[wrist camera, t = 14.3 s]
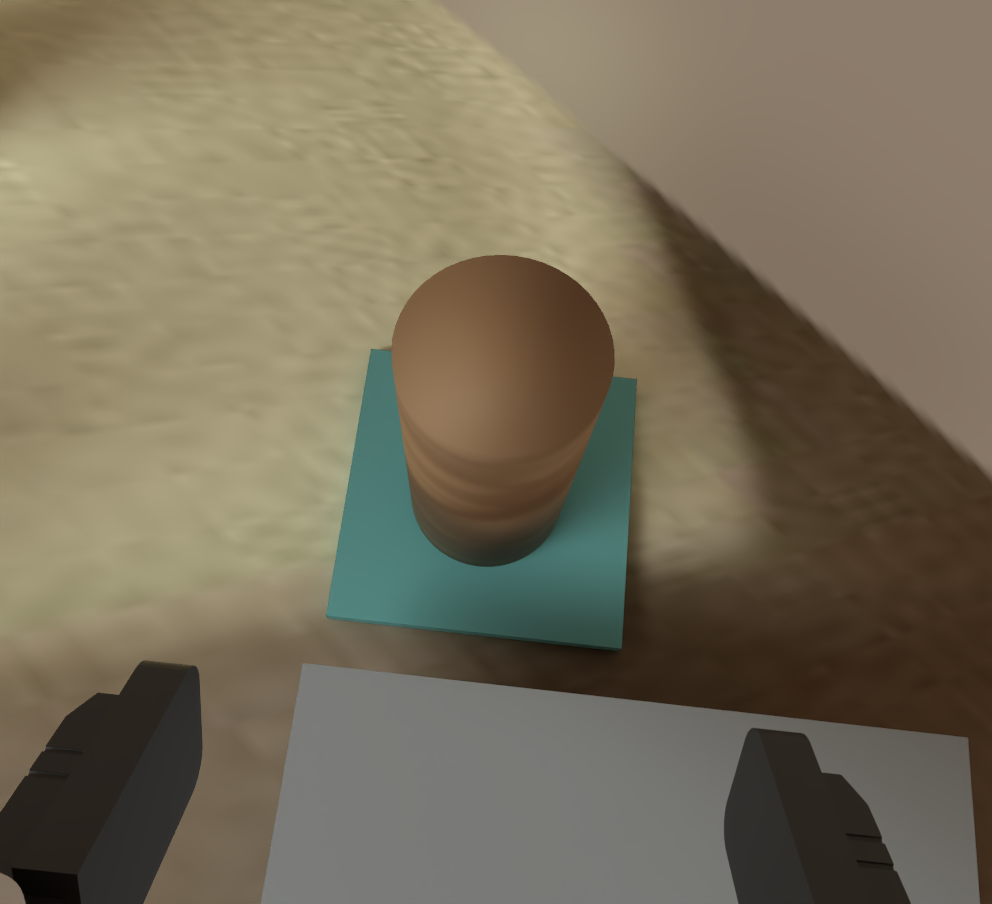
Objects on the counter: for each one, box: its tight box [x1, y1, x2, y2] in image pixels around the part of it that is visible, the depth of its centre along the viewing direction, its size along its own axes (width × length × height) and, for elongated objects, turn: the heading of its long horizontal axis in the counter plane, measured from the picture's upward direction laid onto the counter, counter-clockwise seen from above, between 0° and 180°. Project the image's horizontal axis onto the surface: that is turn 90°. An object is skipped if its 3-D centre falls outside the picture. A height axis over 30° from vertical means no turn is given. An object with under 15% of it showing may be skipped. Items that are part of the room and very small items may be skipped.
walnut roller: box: [391, 255, 614, 567], centre depth 24 cm, size 5×5×10 cm
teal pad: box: [326, 349, 637, 651], centre depth 29 cm, size 9×9×1 cm
